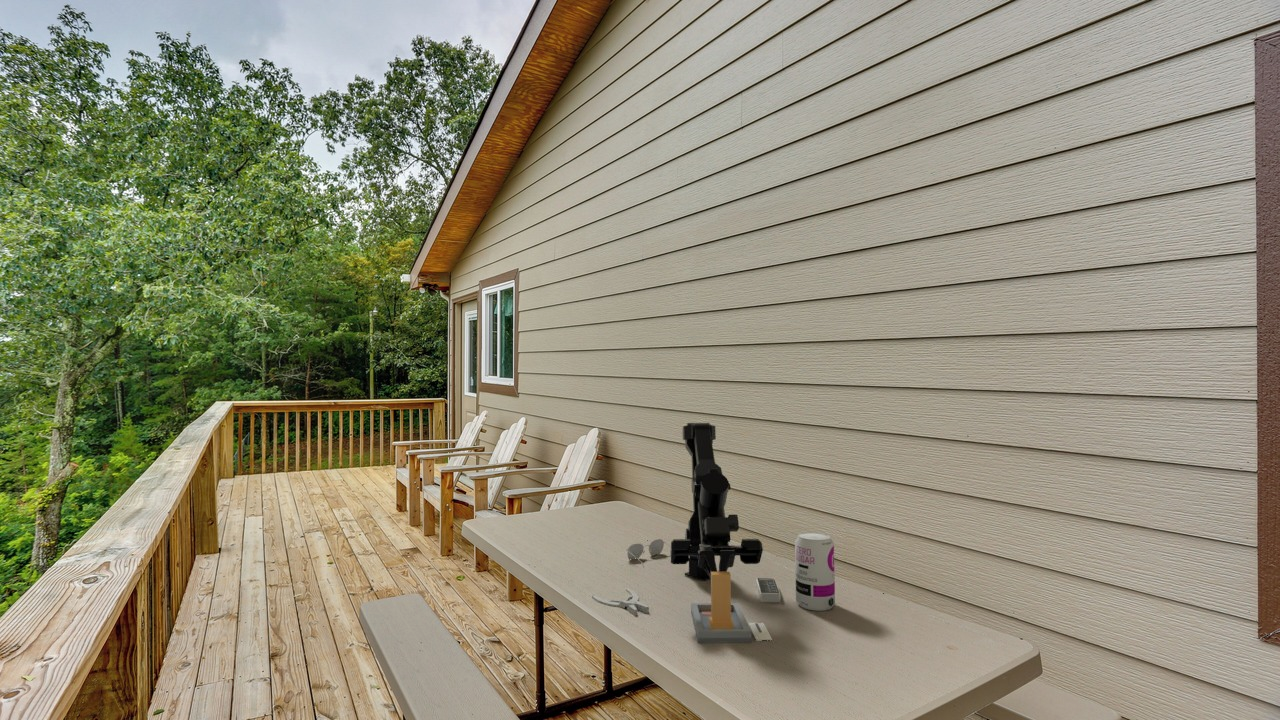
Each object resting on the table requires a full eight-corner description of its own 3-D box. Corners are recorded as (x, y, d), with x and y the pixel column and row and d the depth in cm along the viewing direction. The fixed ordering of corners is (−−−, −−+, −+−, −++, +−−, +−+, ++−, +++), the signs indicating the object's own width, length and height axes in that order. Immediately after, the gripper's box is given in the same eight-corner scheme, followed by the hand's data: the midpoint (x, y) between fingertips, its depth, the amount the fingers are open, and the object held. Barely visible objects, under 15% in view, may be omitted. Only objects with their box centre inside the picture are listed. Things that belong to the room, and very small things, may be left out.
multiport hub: (760, 603, 136) (760, 593, 136) (756, 587, 147) (756, 577, 147) (780, 604, 135) (780, 593, 135) (775, 588, 146) (774, 578, 146)
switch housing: (691, 612, 129) (691, 603, 129) (757, 612, 129) (756, 602, 129) (698, 642, 114) (697, 631, 114) (772, 641, 114) (772, 631, 114)
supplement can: (837, 601, 136) (835, 533, 136) (832, 614, 128) (830, 542, 129) (800, 596, 139) (798, 530, 140) (793, 608, 131) (791, 538, 132)
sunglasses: (663, 554, 176) (665, 537, 176) (682, 565, 170) (684, 548, 169) (624, 562, 168) (626, 545, 168) (642, 575, 161) (644, 556, 161)
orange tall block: (708, 623, 121) (708, 570, 121) (731, 623, 121) (730, 570, 121) (710, 629, 118) (710, 575, 118) (733, 629, 118) (732, 575, 118)
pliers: (628, 584, 144) (661, 604, 131) (628, 591, 144) (661, 611, 131) (590, 591, 139) (621, 612, 126) (590, 598, 139) (621, 620, 126)
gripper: (670, 500, 127) (674, 569, 115) (760, 499, 127) (772, 569, 115) (669, 529, 134) (672, 597, 123) (753, 529, 134) (764, 597, 123)
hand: (719, 590), depth 121 cm, fingers closed
